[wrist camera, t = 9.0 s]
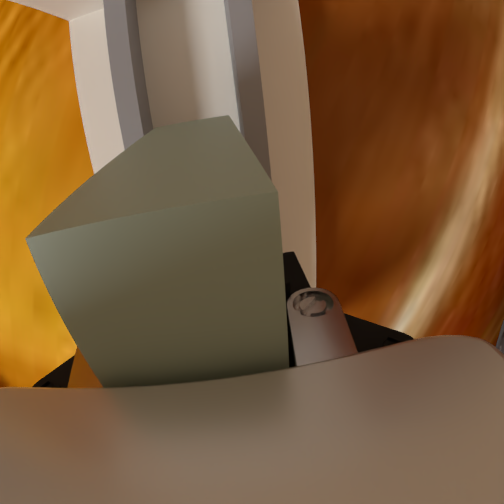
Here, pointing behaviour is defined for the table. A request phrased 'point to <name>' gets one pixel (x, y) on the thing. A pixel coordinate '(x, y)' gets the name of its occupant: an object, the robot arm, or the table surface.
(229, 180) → the door panel
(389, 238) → the table surface
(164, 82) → the cabinet base
